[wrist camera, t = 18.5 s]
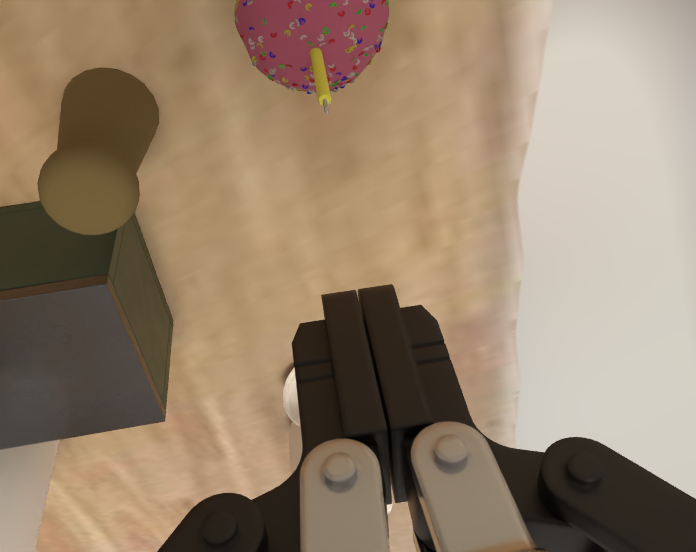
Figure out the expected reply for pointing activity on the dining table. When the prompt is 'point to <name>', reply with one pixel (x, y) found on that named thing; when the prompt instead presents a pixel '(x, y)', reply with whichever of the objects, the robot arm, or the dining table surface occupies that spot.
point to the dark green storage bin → (91, 273)
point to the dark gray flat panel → (70, 364)
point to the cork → (98, 152)
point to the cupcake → (312, 40)
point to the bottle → (24, 493)
